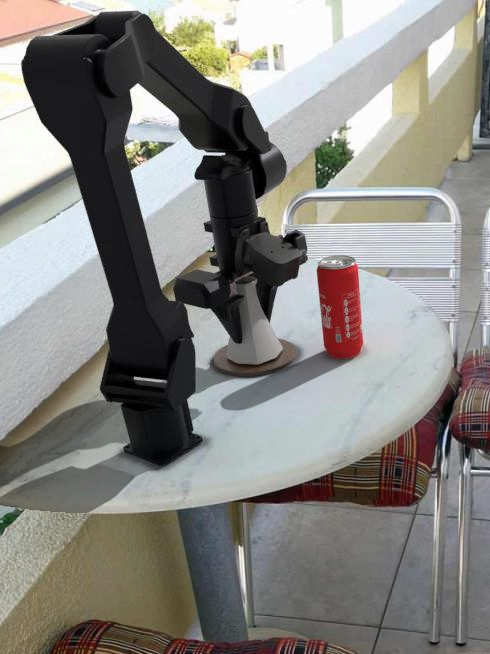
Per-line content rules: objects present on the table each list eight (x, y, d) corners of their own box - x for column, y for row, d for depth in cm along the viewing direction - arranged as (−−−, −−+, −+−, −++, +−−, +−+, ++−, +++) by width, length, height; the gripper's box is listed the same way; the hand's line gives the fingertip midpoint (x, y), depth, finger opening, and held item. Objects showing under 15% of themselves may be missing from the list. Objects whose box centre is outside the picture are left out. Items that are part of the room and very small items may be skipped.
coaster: (259, 383, 107) (258, 379, 107) (196, 365, 113) (196, 361, 112) (313, 350, 114) (313, 346, 114) (252, 334, 120) (251, 331, 119)
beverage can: (359, 361, 111) (352, 269, 103) (320, 359, 112) (311, 268, 104) (367, 344, 115) (361, 254, 107) (329, 343, 116) (321, 254, 108)
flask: (292, 349, 114) (283, 274, 108) (259, 370, 109) (247, 294, 103) (250, 339, 117) (239, 266, 111) (216, 360, 112) (202, 285, 106)
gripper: (229, 243, 92) (250, 376, 102) (334, 198, 104) (343, 322, 113) (158, 230, 98) (184, 358, 107) (264, 189, 109) (279, 307, 119)
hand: (251, 335), depth 111 cm, fingers closed on flask, 5 cm apart
